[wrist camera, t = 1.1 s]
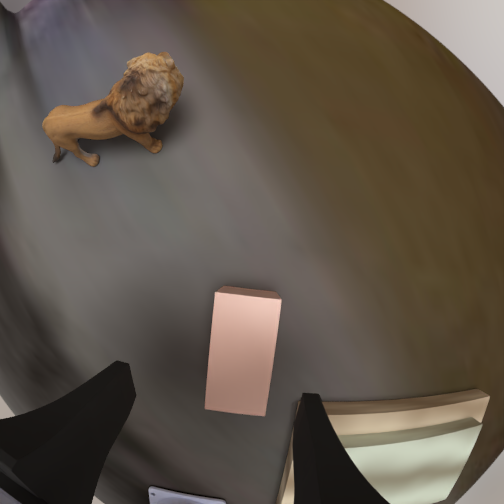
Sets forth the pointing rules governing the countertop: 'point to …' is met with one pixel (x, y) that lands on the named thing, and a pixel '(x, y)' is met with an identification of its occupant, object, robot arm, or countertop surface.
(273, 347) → the terracotta brick
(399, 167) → the countertop surface
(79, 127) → the lion figurine
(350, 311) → the countertop surface
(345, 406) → the tower base
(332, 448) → the robot arm
